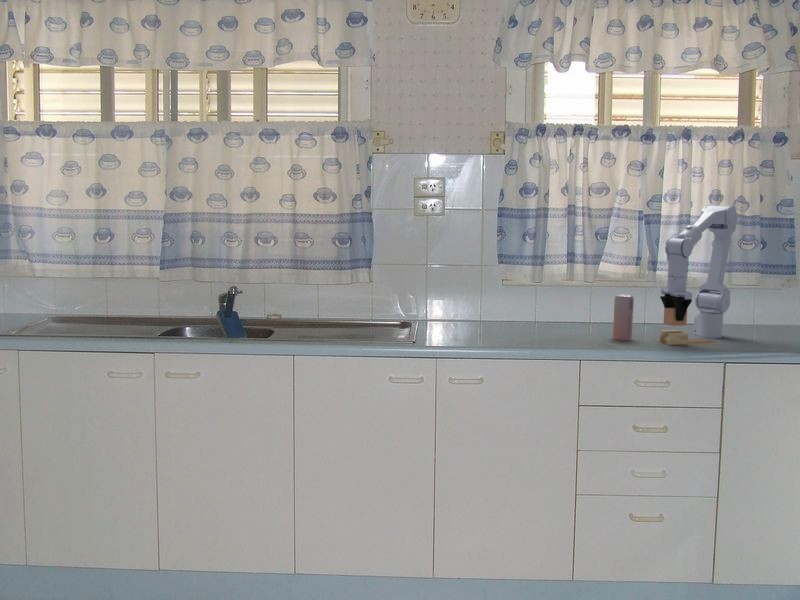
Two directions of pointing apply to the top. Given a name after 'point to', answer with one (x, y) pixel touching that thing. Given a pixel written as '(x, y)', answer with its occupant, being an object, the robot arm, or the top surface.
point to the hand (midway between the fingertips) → (674, 319)
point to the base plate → (693, 342)
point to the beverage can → (623, 317)
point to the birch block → (673, 337)
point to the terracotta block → (673, 317)
